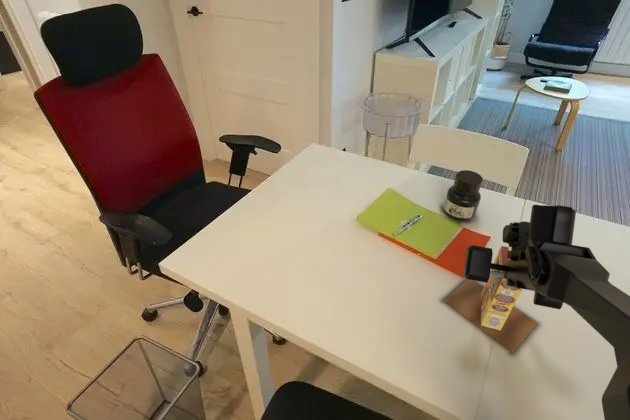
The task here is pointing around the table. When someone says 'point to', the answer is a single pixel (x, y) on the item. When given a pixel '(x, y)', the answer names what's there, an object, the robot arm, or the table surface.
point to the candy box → (498, 296)
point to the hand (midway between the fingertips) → (505, 269)
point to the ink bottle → (463, 196)
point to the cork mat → (470, 306)
